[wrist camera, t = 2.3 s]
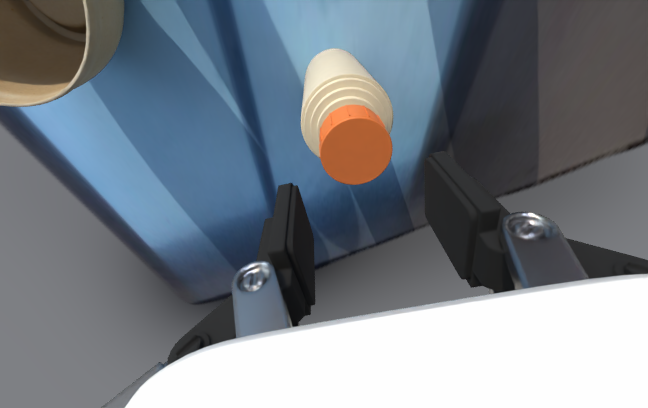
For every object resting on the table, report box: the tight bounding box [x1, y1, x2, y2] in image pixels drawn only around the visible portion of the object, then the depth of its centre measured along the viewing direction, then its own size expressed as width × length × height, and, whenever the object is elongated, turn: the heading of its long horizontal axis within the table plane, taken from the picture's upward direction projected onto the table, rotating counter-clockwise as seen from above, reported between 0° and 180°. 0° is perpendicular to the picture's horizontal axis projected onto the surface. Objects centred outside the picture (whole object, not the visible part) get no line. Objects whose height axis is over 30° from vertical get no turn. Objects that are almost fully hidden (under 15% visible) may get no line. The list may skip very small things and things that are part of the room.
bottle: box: [301, 49, 393, 158], centre depth 23 cm, size 6×6×18 cm
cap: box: [319, 105, 392, 185], centre depth 16 cm, size 4×4×2 cm
